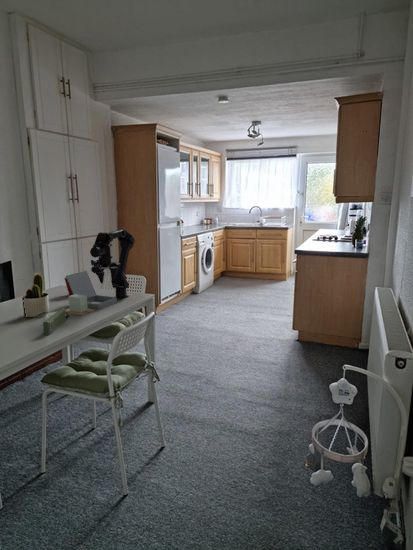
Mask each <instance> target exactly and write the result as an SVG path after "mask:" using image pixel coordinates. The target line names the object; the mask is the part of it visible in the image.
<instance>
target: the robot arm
mask: <svg viewBox="0 0 413 550" xmlns="http://www.w3.org/2000/svg"><path fill="white" fill-rule="evenodd" d="M115 239H118V241H119V246H120V254H119V259H118V261H112V259H113V256H112V253H111V247H113V244H112V242H113V241H114V240H115ZM134 244H135V238H134V237H133V235H132V234H130V233H129V232H128V231H127V230H126V229H125V228H124V229H123V228H122V229H119V228H118V229H116V230H114V231H110V232H98V233H97V235H96V238H95V241H94V244H92V247H91V248H90V251H89V253H90V256H92V258H93V259H91V260H90V265H91V268H90V269H91V271H90V272H91V273H94V274H96V276H97V278H98V280H99V282H100V284H104V279H105V270H107V269H109V271H110V277H111V281H110V282H111V286H112V288H113V289H115V297H116V298H117V299H121V300H123V299H126V298H129V297H130V296H129V295H127V289H129V287H130V283H129V282H128V280H127V274H126V268H127V264H128V258H129V254H130V251H131V250H132V249H133V248H134ZM96 258H98V259H96Z"/></svg>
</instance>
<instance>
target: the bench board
mask: <svg viewBox="0 0 413 550" xmlns="http://www.w3.org/2000/svg"><path fill="white" fill-rule="evenodd" d="M96 311H97V309H92V308H88V310H86V311H83V312H75V311H70V308H67V309H66V308H65V313H66V314H67V315H68V314H69V315H74V316H79V317H82V316H86V315H88V314H90V313H91V314H92V313H94V312H96Z"/></svg>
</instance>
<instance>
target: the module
mask: <svg viewBox="0 0 413 550" xmlns="http://www.w3.org/2000/svg"><path fill="white" fill-rule="evenodd" d="M68 307H69V308H70V311H75V312H83V311H86V310H88V307H87V296H86V295H78V294H74V295H71V296H70V295H68ZM69 308H68V309H69Z"/></svg>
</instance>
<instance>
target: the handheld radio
mask: <svg viewBox="0 0 413 550" xmlns="http://www.w3.org/2000/svg"><path fill="white" fill-rule="evenodd" d="M65 310H66V308H63V307H62V308H61V309H59V310H58V311H57V312H55V313H54V314H52V315H51V316H50V317H48V318H47V319H45V320H44V321H43V322H42V326H43V327H42V328H43V329H42V330H43V336H49V334H50V335H51V334H52V333H54V332H55V331H56V330H57V329H58V328H59V327H61V326H62V325H63V324H64V323H65V322H67V319H68V318H70V316H71V314H67V313H65ZM66 314H67V315H66Z"/></svg>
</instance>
